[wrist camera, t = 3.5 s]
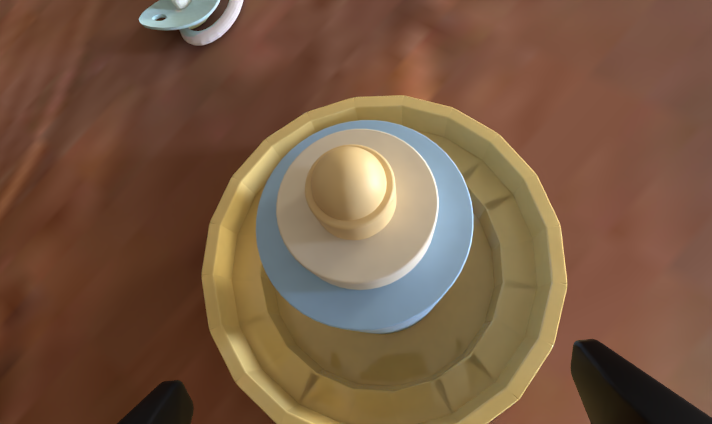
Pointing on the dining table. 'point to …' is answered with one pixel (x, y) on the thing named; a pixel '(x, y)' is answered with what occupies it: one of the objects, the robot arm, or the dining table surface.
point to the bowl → (427, 337)
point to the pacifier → (190, 18)
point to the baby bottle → (364, 226)
